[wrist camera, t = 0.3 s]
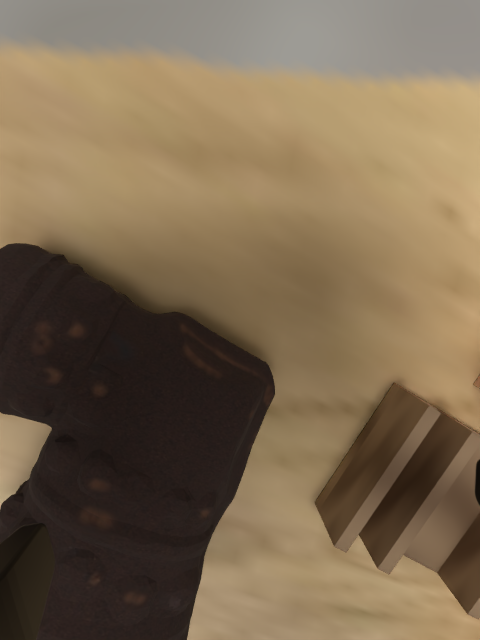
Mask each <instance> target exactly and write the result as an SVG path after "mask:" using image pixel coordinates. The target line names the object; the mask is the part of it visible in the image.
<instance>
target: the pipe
mask: <svg viewBox="0 0 480 640" xmlns="http://www.w3.org/2000/svg"><path fill="white" fill-rule="evenodd" d="M274 395H275V386H274V380H273V376H272V373H271V370H270V367H269V365H268V364H267V363H266V362H264V361H262V360H260V359H259V358H257V357H255V356H253V355H251V354H250V353H248V352H246V351H244V350H243V349H241V348H239V347H238V346H236V345H234V344H233V343H231V342H229V341H227V340H226V339H224V338H222V337H221V336H219V335H217V334H216V333H214V332H212V331H211V330H209V329H208V328H206V327H205V326H203V325H201V324H200V323H198V322H197V321H195V320H194V319H192V318H191V317H189V316H187V315H185V314H182V313H178V312H171V313H165V314H153V313H151V312H148V311H146V310H144V309H141V308H140V307H138V306H136V305H135V304H134V303H133V302H132V301H131V300H130V299H129V298H128V297H127V296H126V295H124V294H121V293H118V292H116V291H115V290H114V289H113V288H111V287H110V286H109V285H107V284H105V283H103V282H101V281H98V280H96V279H95V278H93V277H91V276H90V275H88V274H87V273H85V271H84V270H83V268H82V267H81V266H79V265H78V264H71V263H69V262H68V261H67V259H66V258H65V256H64V255H57V254H51V253H49V252H47V251H45V250H44V249H42V248H40V247H38V246H35V245H30V244H20V243H16V244H8V245H6V246H5V247H3V248H1V249H0V412H1V413H3V414H8V415H15V416H18V417H22V418H26V419H30V420H33V421H37V422H41V423H45V424H47V425H49V426H50V427H52V431H51V433H50V434H49V436H48V438H47V440H46V442H45V444H44V446H43V448H42V450H41V452H40V455H39V458H38V460H37V462H36V464H35V465H34V467H33V469H32V471H31V474H30V478H29V480H27V481H25V482H24V483H23V484H22V485H21V486H20V488H19V489H18V491H17V492H16V494H14V495H11V496H10V497H9V498H8V499H7V500H5V501H4V502H3V503H2V505H1V509H0V543H1V542H2V541H4V540H5V539H6V538H7V537H9V536H10V535H11V534H12V533H14V532H15V531H16V530H17V529H19V528H20V527H22V526H24V525H30V524H37V523H43V524H45V525H46V527H47V529H48V532H49V536H50V540H51V544H52V548H53V552H54V556H55V567H54V572H53V576H52V580H51V584H50V588H49V592H48V596H47V600H46V604H45V608H44V612H43V616H42V620H41V623H40V627H39V631H38V635H37V639H36V640H187V636H188V630H189V625H190V619H191V616H192V612H193V607H194V603H195V598H196V594H197V591H198V587H199V584H200V580H201V575H202V568H203V562H204V556H205V552H206V549H207V546H208V543H209V541H210V538H211V536H212V534H213V532H214V530H215V528H216V526H217V524H218V522H219V520H220V519H221V517H222V515H223V514H224V512H225V510H226V509H227V507H228V506H229V504H230V503H231V502H232V500H233V498H234V496H235V494H236V491H237V489H238V486H239V483H240V481H241V478H242V475H243V473H244V470H245V467H246V463H247V460H248V457H249V454H250V451H251V448H252V445H253V443H254V441H255V438H256V436H257V433H258V431H259V428H260V426H261V424H262V421H263V419H264V416H265V414H266V412H267V409H268V407H269V405H270V403H271V401H272V399H273V397H274Z"/></svg>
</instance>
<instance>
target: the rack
mask: <svg viewBox="0 0 480 640" xmlns="http://www.w3.org/2000/svg"><path fill="white" fill-rule="evenodd" d="M479 459H480V434H479V433H477V432H475V431H474V430H472V429H470V428H469V427H467V426H465V425H464V424H462V423H460V422H459V421H457V420H455V419H454V418H452V417H450V416H449V415H447V414H445V413H444V412H442V411H440V410H439V409H437V408H435V407H434V406H432V405H430V404H429V403H427V402H425V401H424V400H422V399H421V398H419V397H417V396H416V395H414V394H412V393H411V392H409V391H407V390H406V389H404V388H402V387H401V386H399V385H397V384H396V383H394V384H393V385H392V387H391V388H390V390H389V391H388V393H387V394H386V396H385V397H384V399H383V400H382V402H381V403H380V405H379V406H378V408H377V409H376V411H375V412H374V414H373V415H372V417H371V418H370V420H369V422H368V423H367V425H366V426H365V428H364V429H363V431H362V432H361V434H360V435H359V437H358V438H357V440H356V441H355V443H354V444H353V446H352V447H351V449H350V450H349V452H348V453H347V455H346V456H345V458H344V459H343V461H342V462H341V464H340V465H339V467H338V468H337V470H336V471H335V473H334V474H333V476H332V477H331V479H330V480H329V482H328V483H327V485H326V486H325V488H324V490H323V491H322V493H321V494H320V496H319V497H318V499H317V500H316V502H315V504H316V507H317V509H318V511H319V513H320V516H321V518H322V520H323V522H324V525H325V527H326V529H327V531H328V534H329V536H330V538H331V541H332V543H333V545H334V547H336V548H338V549H340V550H342V551H344V552H347V551H348V549H349V548H350V547H351V545H352V544H353V542H354V541H355V539H356V538H357V536H358V535H359V536H360V537H361V539H362V541H363V543H364V545H365V546H366V548H367V550H368V552H369V554H370V556H371V557H372V559H373V561H374V563H375V565H376V567H377V568H378V569H379V570H381V571H383V572H385V573H387V574H390V573H391V571H392V570H393V569H394V567H395V566H396V564H397V563H398V561H399V560H400V559H401V557H402V556H403V555H404V556H406V557H408V558H410V559H412V560H414V561H416V562H418V563H420V564H422V565H423V566H425V567H427V568H429V569H431V570H433V571H435V572H437V573H438V574H439V576H440V577H441V579H442V580H443V581H444V583H445V584H446V585H447V587H448V588H449V590H450V591H451V592H452V594H453V595H454V596H455V598H456V599H457V600H458V602H459V603H460V605H461V606H462V607H463V609H464V610H465V611H466V613H467V614H468V615H470V616H472V617H474V618H476V619H479V618H480V506H479V504H478V502H477V500H476V497H475V474H476V463H477V461H478V460H479Z"/></svg>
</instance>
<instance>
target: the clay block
mask: <svg viewBox="0 0 480 640" xmlns="http://www.w3.org/2000/svg"><path fill="white" fill-rule="evenodd" d="M473 385H475V386H476V387H478V388H480V375H479V377H478V378H477V380H476V381H475V383H474V384H473Z"/></svg>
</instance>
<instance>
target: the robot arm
mask: <svg viewBox="0 0 480 640" xmlns="http://www.w3.org/2000/svg"><path fill="white" fill-rule="evenodd" d="M475 497H476V500H477V502H478V504H479V506H480V459H479V460H478V461H477V463H476V474H475ZM54 567H55V556H54V552H53V548H52V544H51V540H50V536H49V532H48V529H47V527H46V525H45V524H43V523H37V524H30V525H24V526H22V527H20V528H19V529H17V530H16V531H15V532H14V533H12V534H11V535H10V536H9V537H7V538H6V539H5V540H4V541H2V542H1V543H0V640H36V639H37V635H38V631H39V627H40V623H41V620H42V616H43V612H44V608H45V604H46V600H47V596H48V592H49V588H50V584H51V580H52V576H53V572H54Z"/></svg>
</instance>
